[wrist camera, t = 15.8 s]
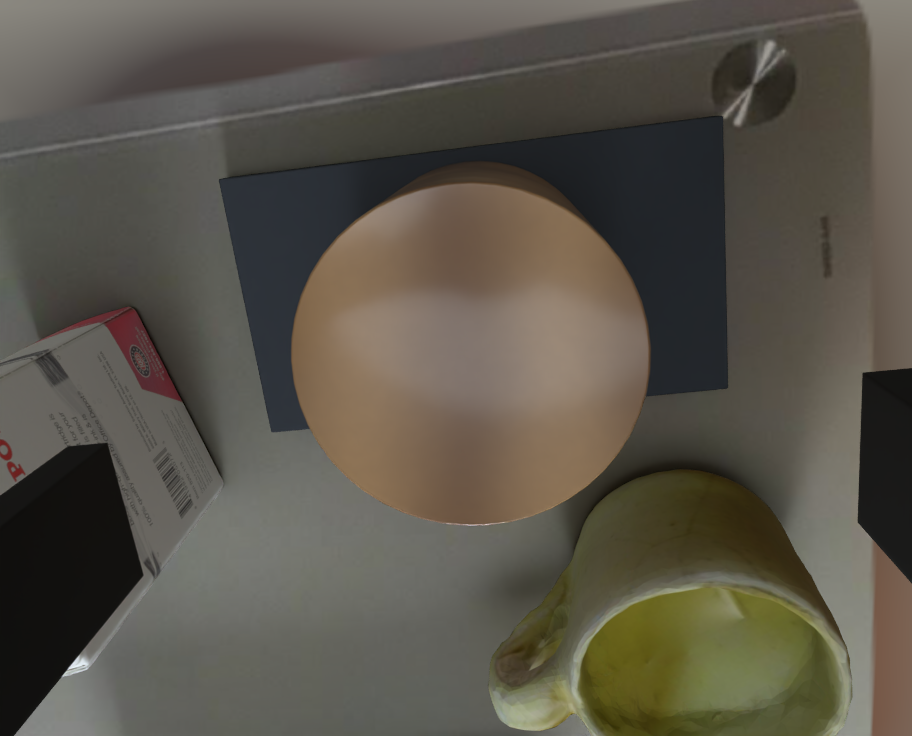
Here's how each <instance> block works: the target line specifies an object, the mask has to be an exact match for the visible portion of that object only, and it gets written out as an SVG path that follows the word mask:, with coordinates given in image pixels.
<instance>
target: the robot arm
mask: <svg viewBox="0 0 912 736" xmlns="http://www.w3.org/2000/svg"><path fill="white" fill-rule="evenodd" d="M858 523H859V524H860V525H861V526H862V528H863V529H864V530H865V531H866V532H867V533H868V534H869V536H870V537H871V538H872V539H873V540H874V541H875V542H876V543H877V545H878V546H879V547H880V548H881V549H882V550H883V551H884V552H885V554H886V555H887V556H888V557H889V558H890V559H891V560H892V561H893V562H894V564H895V565H896V566H897V567H898V568H899V569H900V571H901V572H902V573H903V574H904V575H905V576H906V577H907V579H909V581H910V582H911V583H912V368H909V369H898V370H887V371H877V372H866V373H863V378H862V409H861V439H860V469H859V499H858ZM143 576H144V574H143V571H142V567H141V563H140V560H139V556H138V552H137V549H136V545H135V541H134V538H133V534H132V530H131V527H130V523H129V519H128V516H127V512H126V508H125V505H124V501H123V497H122V494H121V490H120V487H119V483H118V479H117V476H116V472H115V468H114V465H113V461H112V457H111V454H110V450H109V446H108V443H98V444H87V445H76V446H67V447H66V448H65V449H63V450H62V451H61V452H59V453H58V454H56V455H55V456H54V457H52V458H51V459H50V460H48V461H47V462H45V463H44V464H43V465H41V466H40V467H39V468H37V469H36V470H34V471H33V472H32V473H30V474H29V475H28V476H26V477H25V478H23V479H22V480H21V481H19V482H18V483H17V484H15V485H14V486H12V487H11V488H10V489H8V490H7V491H6V492H4V493H3V494H1V495H0V736H14V735H15V734H16V732H17V731H18V730H19V729H20V728H21V726H22V725H23V724H24V723H25V721H26V720H27V719H28V718H29V716H30V715H31V714H32V713H33V712H34V710H35V709H36V708H37V707H38V705H39V704H40V703H41V702H42V700H43V699H44V698H45V697H46V695H47V694H48V693H49V692H50V691H51V689H52V688H53V687H54V686H55V684H56V683H57V682H58V681H59V679H60V678H61V677H62V676H63V674H64V673H65V672H66V671H67V670H68V668H69V667H70V666H71V665H72V663H73V662H74V661H75V660H76V658H77V657H78V656H79V655H80V653H81V652H82V651H83V650H84V649H85V647H86V646H87V645H88V644H89V642H90V641H91V640H92V639H93V637H94V636H95V635H96V634H97V633H98V631H99V630H100V629H101V628H102V626H103V625H104V624H105V623H106V621H107V620H108V619H109V618H110V616H111V615H112V614H113V613H114V612H115V610H116V609H117V608H118V607H119V605H120V604H121V603H122V602H123V600H124V599H125V598H126V597H127V595H128V594H129V593H130V592H131V591H132V589H133V588H134V587H135V586H136V584H137V583H138V582H139V581H140V579H141V578H142V577H143Z"/></svg>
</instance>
